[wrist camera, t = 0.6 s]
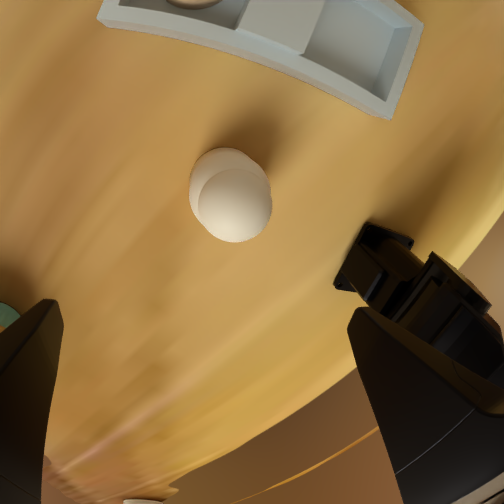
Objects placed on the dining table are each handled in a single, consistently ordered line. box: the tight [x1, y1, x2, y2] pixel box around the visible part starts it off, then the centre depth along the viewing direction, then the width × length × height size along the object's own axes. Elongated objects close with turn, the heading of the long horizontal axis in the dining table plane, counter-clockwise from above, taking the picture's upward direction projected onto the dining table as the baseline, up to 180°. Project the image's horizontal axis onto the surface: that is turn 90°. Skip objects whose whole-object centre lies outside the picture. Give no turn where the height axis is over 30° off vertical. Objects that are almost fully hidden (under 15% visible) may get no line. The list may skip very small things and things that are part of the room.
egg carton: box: [96, 0, 424, 120], centre depth 12 cm, size 18×8×3 cm, turn 70°
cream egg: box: [189, 147, 272, 242], centre depth 16 cm, size 5×5×6 cm
